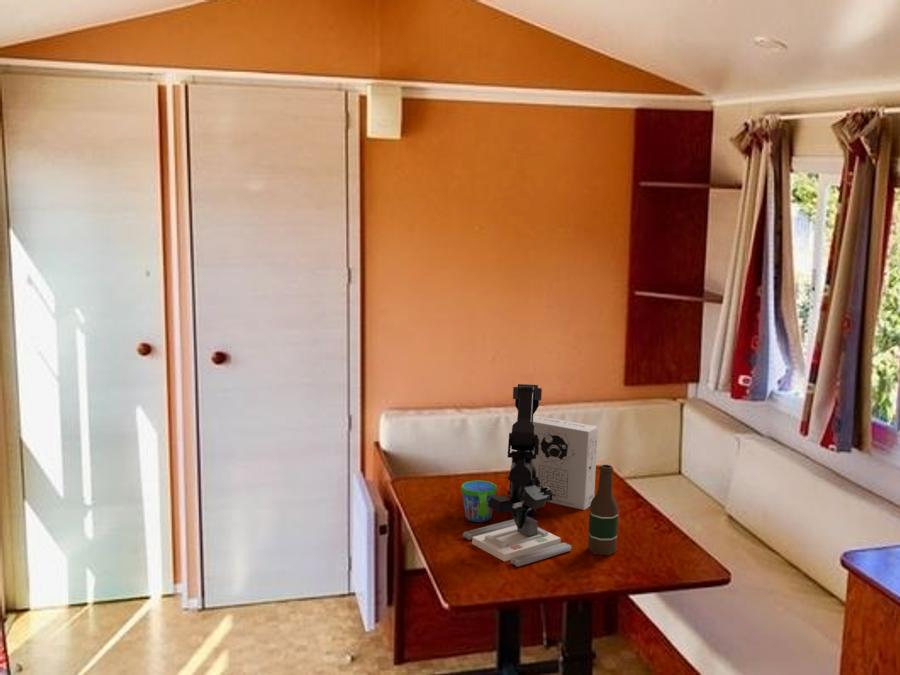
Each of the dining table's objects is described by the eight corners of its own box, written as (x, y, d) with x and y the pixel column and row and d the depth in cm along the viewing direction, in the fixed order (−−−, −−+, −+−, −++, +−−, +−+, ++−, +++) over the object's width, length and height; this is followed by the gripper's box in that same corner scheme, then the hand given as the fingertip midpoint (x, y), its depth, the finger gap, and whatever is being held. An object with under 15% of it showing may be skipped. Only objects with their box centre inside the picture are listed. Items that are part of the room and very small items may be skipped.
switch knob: (525, 529, 253) (525, 515, 252) (537, 535, 249) (537, 521, 248) (517, 531, 251) (517, 517, 250) (529, 537, 247) (529, 523, 246)
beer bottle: (598, 558, 240) (603, 472, 236) (581, 547, 247) (586, 463, 243) (622, 553, 244) (627, 468, 239) (604, 542, 250) (609, 460, 246)
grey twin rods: (515, 523, 263) (515, 517, 263) (573, 551, 244) (573, 545, 244) (461, 537, 252) (461, 531, 252) (517, 568, 233) (517, 561, 232)
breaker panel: (527, 528, 259) (527, 518, 259) (560, 544, 248) (560, 534, 248) (472, 543, 248) (472, 533, 247) (504, 561, 237) (504, 550, 236)
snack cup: (459, 508, 274) (460, 476, 272) (493, 509, 274) (494, 477, 273) (461, 528, 259) (462, 494, 257) (498, 528, 259) (499, 495, 257)
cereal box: (594, 503, 281) (598, 426, 277) (584, 510, 275) (588, 431, 271) (532, 489, 293) (535, 415, 288) (521, 496, 286) (524, 420, 282)
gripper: (514, 488, 233) (512, 545, 236) (567, 476, 244) (564, 530, 247) (487, 476, 242) (486, 531, 245) (539, 465, 253) (537, 518, 256)
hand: (519, 528), depth 248 cm, fingers closed
